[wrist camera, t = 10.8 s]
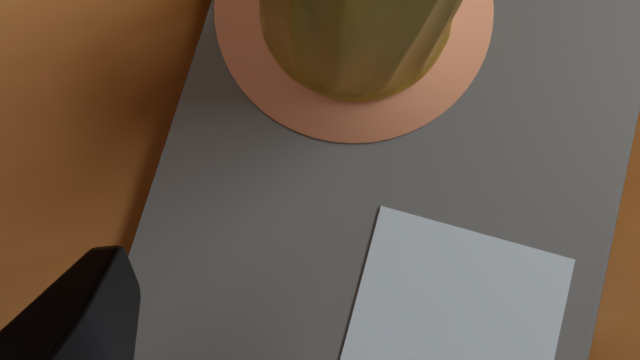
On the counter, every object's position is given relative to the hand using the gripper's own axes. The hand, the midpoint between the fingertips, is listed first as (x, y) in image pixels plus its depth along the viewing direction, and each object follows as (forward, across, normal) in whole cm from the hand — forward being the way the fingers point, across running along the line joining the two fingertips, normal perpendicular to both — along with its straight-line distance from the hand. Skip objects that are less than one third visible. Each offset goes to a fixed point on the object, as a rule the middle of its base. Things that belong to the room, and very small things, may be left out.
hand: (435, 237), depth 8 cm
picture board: (+6, +1, +8) cm, 9 cm away
